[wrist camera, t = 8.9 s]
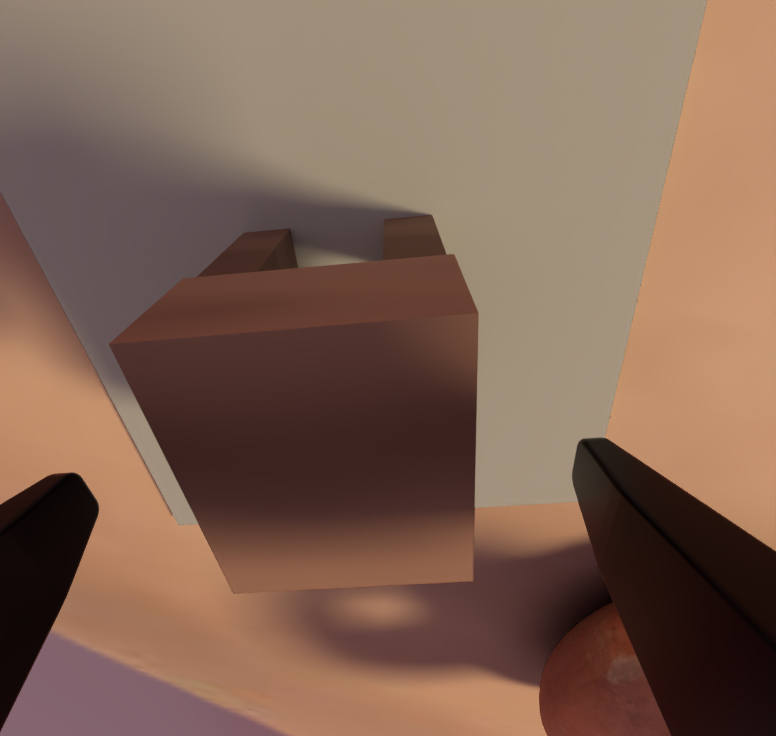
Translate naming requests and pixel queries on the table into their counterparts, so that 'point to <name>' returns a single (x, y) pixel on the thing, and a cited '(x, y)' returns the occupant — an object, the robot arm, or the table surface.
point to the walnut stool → (319, 410)
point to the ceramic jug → (598, 683)
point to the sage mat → (359, 174)
